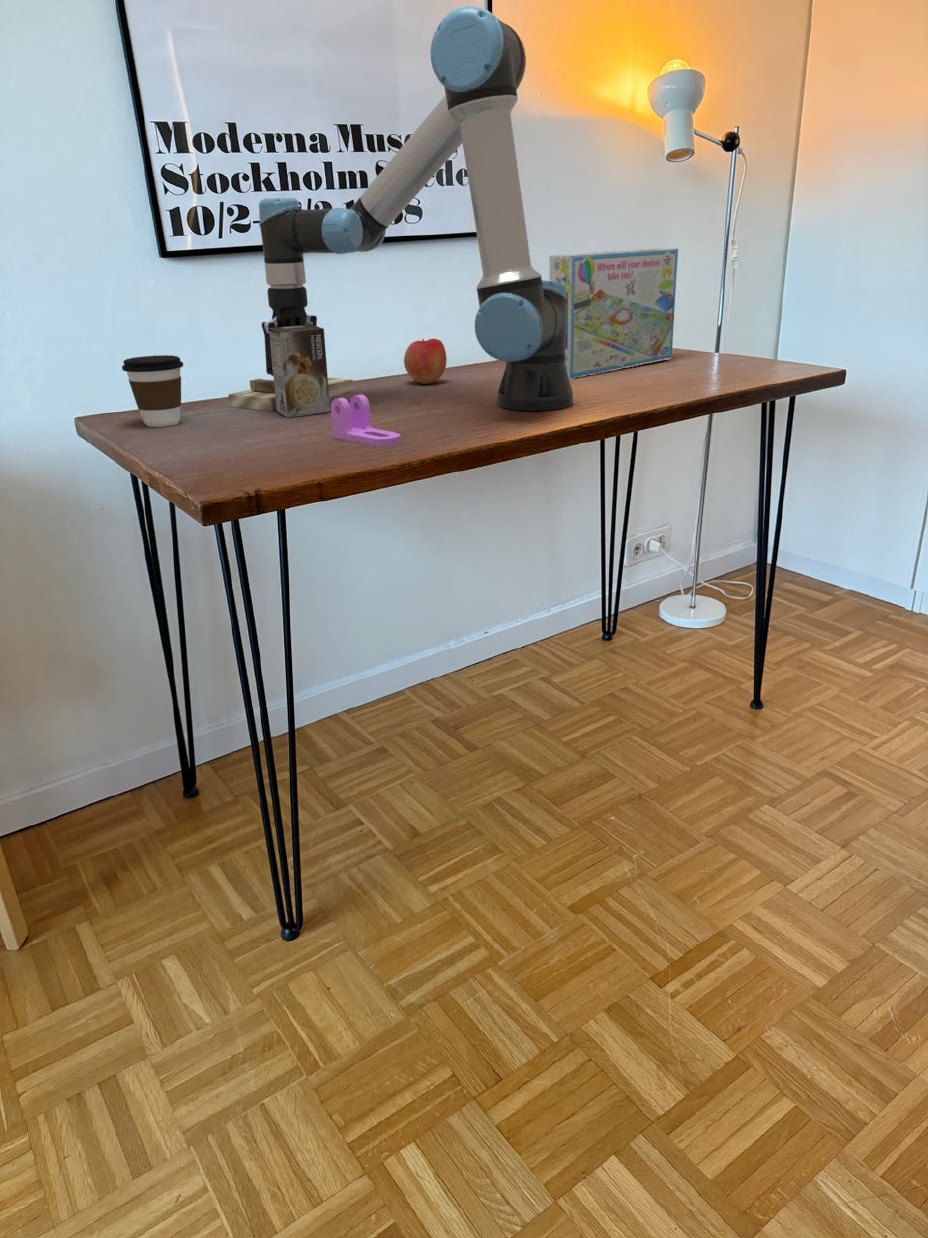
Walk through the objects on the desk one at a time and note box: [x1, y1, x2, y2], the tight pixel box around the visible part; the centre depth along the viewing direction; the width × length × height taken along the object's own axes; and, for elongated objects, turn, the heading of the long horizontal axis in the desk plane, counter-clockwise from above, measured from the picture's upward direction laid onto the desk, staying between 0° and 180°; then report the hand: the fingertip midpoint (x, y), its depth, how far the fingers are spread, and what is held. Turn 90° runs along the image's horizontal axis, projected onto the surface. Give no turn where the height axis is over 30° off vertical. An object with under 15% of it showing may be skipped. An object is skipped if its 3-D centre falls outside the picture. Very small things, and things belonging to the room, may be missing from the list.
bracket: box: [330, 394, 402, 448], centre depth 146 cm, size 13×6×7 cm, turn 46°
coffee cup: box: [121, 354, 184, 428], centre depth 163 cm, size 11×11×12 cm
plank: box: [228, 377, 354, 412], centre depth 187 cm, size 12×26×3 cm, turn 148°
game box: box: [549, 247, 679, 378], centre depth 210 cm, size 40×7×27 cm, turn 132°
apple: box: [403, 338, 447, 385], centre depth 200 cm, size 10×10×10 cm
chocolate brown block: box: [249, 378, 275, 393], centre depth 179 cm, size 14×6×7 cm, turn 58°
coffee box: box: [269, 325, 331, 418], centre depth 168 cm, size 9×6×16 cm
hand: (298, 405), depth 178 cm, fingers open, 6 cm apart
